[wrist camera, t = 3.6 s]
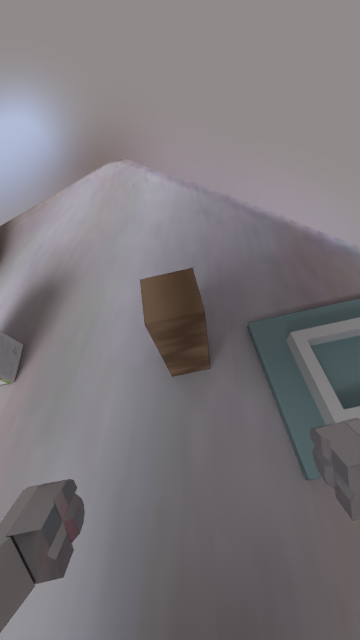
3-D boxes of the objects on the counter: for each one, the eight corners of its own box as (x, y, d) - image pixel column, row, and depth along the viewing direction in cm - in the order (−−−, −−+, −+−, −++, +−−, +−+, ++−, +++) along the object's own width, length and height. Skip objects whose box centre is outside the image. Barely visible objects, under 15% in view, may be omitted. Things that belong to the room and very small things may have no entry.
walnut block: (172, 376, 27) (144, 324, 17) (167, 342, 30) (140, 279, 20) (210, 368, 27) (204, 311, 17) (201, 335, 30) (192, 267, 19)
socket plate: (305, 479, 21) (317, 481, 18) (247, 326, 29) (249, 313, 27) (489, 443, 20) (528, 440, 18) (374, 299, 29) (389, 283, 26)
